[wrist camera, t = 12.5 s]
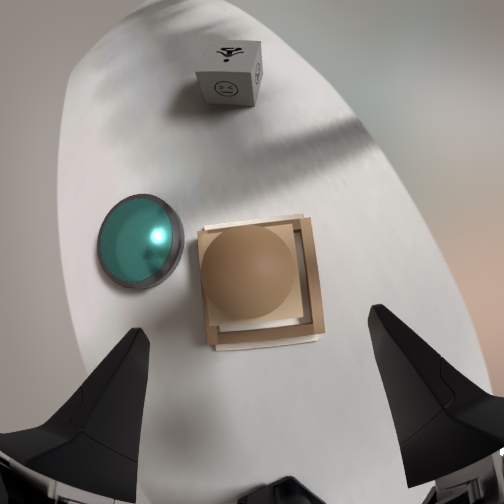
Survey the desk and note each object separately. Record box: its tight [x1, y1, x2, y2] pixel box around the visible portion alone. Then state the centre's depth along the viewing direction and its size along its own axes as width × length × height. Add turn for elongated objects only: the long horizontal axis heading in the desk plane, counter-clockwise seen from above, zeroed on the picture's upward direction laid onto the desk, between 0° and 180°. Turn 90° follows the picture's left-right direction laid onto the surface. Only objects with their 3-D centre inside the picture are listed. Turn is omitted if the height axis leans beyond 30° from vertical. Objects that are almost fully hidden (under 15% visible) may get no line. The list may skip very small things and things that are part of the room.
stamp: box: [201, 224, 304, 326], centre depth 15 cm, size 5×5×11 cm
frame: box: [197, 214, 325, 351], centre depth 21 cm, size 10×9×2 cm
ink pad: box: [97, 194, 184, 289], centre depth 22 cm, size 8×8×2 cm
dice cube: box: [195, 40, 263, 107], centre depth 22 cm, size 5×5×5 cm
